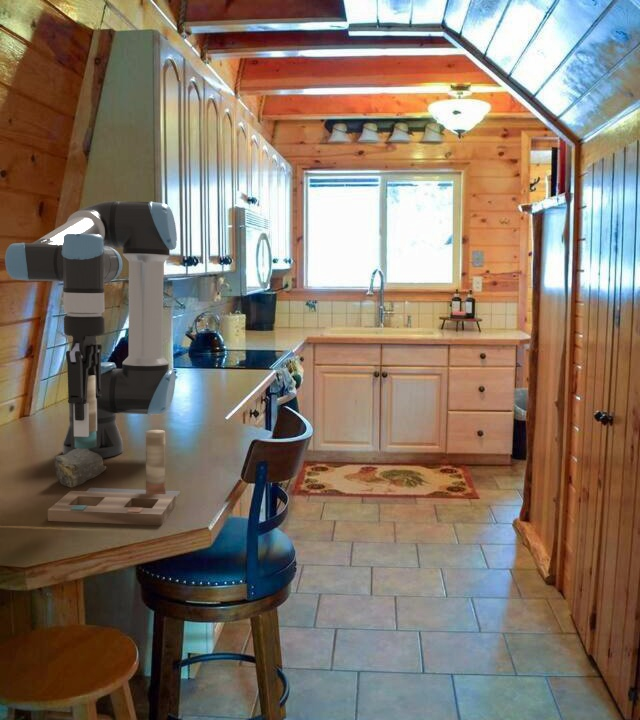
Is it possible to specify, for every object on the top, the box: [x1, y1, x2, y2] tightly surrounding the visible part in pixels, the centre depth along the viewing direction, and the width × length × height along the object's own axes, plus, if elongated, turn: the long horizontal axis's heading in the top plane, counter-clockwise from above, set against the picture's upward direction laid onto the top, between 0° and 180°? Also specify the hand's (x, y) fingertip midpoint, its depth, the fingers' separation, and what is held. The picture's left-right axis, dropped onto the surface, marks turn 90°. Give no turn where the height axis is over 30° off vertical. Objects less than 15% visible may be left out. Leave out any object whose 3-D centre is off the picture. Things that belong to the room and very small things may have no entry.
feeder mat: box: [86, 487, 182, 498], centre depth 159 cm, size 8×20×1 cm, turn 88°
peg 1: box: [75, 375, 97, 449], centre depth 146 cm, size 4×4×14 cm
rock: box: [53, 448, 107, 488], centre depth 170 cm, size 17×7×10 cm
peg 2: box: [145, 429, 166, 494], centre depth 158 cm, size 4×4×14 cm
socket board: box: [47, 490, 177, 526], centre depth 148 cm, size 12×22×3 cm, turn 88°
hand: (85, 433), depth 146 cm, fingers closed on peg 1, 4 cm apart
